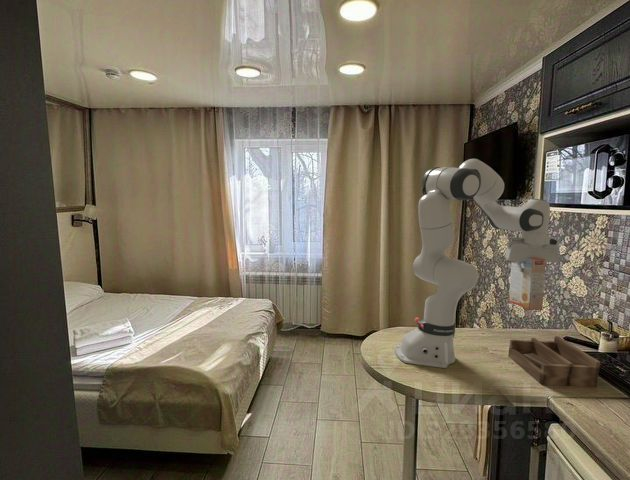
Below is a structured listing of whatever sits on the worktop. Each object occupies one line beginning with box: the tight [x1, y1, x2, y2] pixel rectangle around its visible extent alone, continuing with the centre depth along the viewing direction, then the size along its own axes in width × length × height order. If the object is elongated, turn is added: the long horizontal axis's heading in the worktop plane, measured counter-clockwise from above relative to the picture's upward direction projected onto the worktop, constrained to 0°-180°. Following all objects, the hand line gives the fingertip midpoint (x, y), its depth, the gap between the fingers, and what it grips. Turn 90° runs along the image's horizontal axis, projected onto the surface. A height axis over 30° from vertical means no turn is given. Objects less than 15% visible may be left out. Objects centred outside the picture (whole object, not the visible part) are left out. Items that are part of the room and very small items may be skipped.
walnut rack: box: [507, 335, 601, 388], centre depth 122 cm, size 18×20×10 cm
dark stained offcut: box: [523, 353, 553, 369], centre depth 123 cm, size 4×8×2 cm, turn 16°
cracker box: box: [508, 258, 547, 311], centre depth 144 cm, size 14×6×21 cm, turn 1°
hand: (529, 272), depth 142 cm, fingers closed on cracker box, 6 cm apart
